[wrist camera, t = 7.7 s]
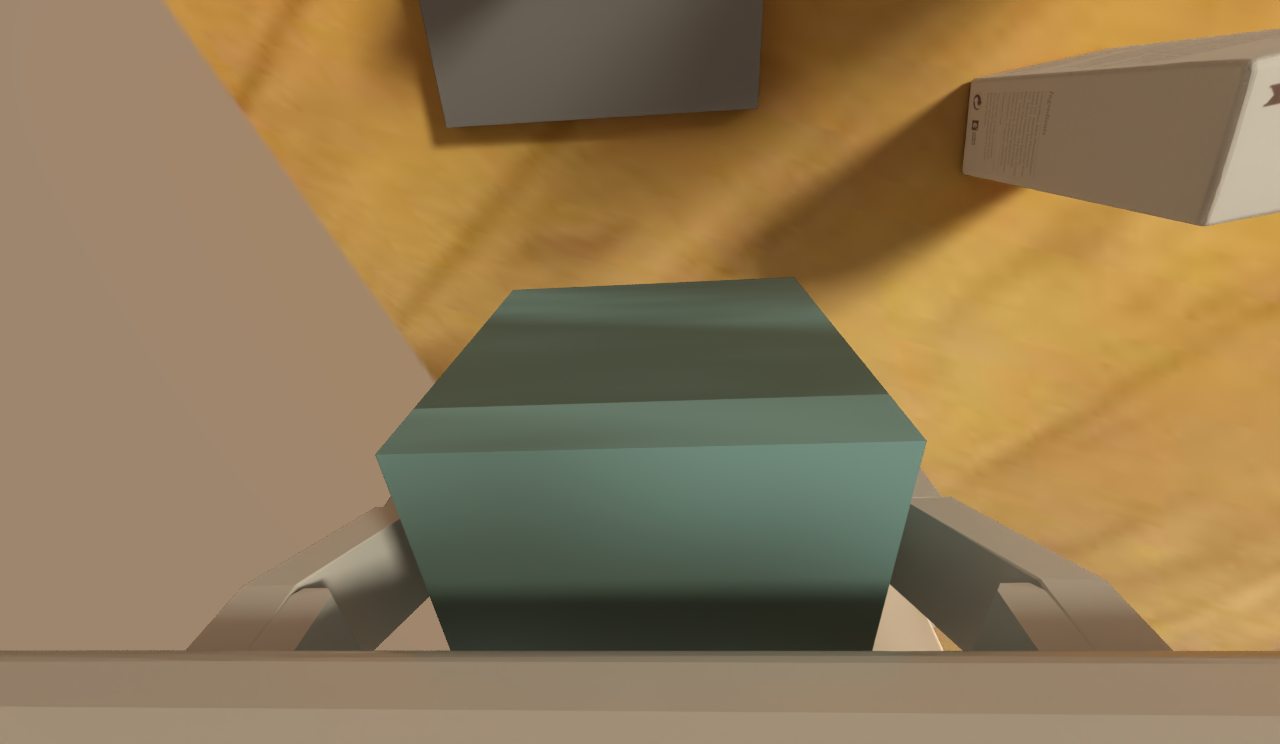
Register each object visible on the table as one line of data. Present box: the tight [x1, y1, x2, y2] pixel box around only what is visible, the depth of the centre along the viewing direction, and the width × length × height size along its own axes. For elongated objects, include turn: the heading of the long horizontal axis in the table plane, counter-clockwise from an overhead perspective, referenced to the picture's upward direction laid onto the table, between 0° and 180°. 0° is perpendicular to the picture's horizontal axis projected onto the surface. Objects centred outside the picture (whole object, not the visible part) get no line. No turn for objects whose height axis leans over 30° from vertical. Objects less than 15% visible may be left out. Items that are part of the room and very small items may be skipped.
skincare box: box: [963, 29, 1280, 226], centre depth 18 cm, size 6×4×12 cm
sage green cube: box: [376, 277, 927, 651], centre depth 10 cm, size 6×6×6 cm
